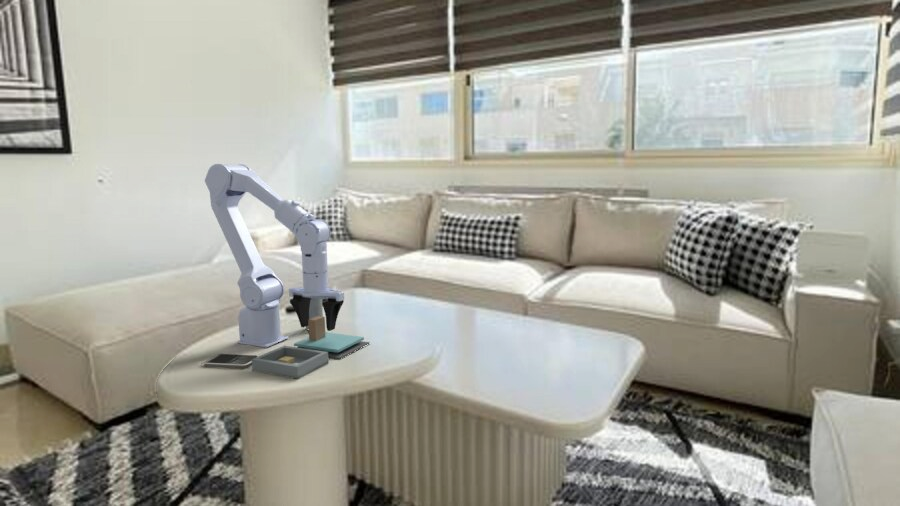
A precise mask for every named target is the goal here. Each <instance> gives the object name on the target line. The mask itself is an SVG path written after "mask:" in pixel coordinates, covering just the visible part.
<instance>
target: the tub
mask: <svg viewBox="0 0 900 506" xmlns="http://www.w3.org/2000/svg"><path fill="white" fill-rule="evenodd" d="M297 347H298V346H289V345H283V346H280V347H278V348H276V349H273V350H271V351H268V352H266V353H262V354H261V355H257V356H258V357H256V358H254V359H252V365H251V370H252V372H258V373H264V374H269V375H273V376H274V375H275V376H279V377H280V376H281V377H286V378H291V379H292V378H293V379H297V380H299V379H301V378H303V377H304V376H306V375H309V374H310V373H312V372H315V371H316V370H318V369H320V368H322V367H324V366H326V365H327V364H329V358H328V352H324V351H318V350H311V349H304V348H297Z"/></svg>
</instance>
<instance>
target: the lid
mask: <svg viewBox="0 0 900 506" xmlns="http://www.w3.org/2000/svg"><path fill="white" fill-rule="evenodd" d="M308 325H309V330H308V337H306V338H304V339H301V340H299V341H297V342H294V343H293V347H304V348H306V349H313V350H319V351H326V352H333V353H338V352H340V351H342V350H344V349H346V348H348V347H350V346H352V345H354V344H356V343H358V342H360V341H365V337H364V336H357V335H350V334H342V333H334V332H329V331H328V332H326V316H323V317H322V316H317V317H314V318H311V319H309V320H308Z"/></svg>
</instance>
